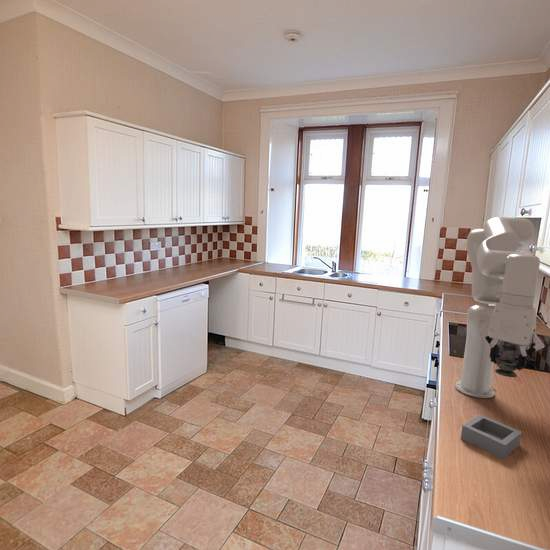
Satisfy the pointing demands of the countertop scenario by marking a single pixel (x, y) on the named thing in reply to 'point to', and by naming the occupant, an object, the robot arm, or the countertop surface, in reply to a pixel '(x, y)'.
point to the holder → (491, 436)
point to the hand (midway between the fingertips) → (506, 364)
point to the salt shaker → (507, 360)
